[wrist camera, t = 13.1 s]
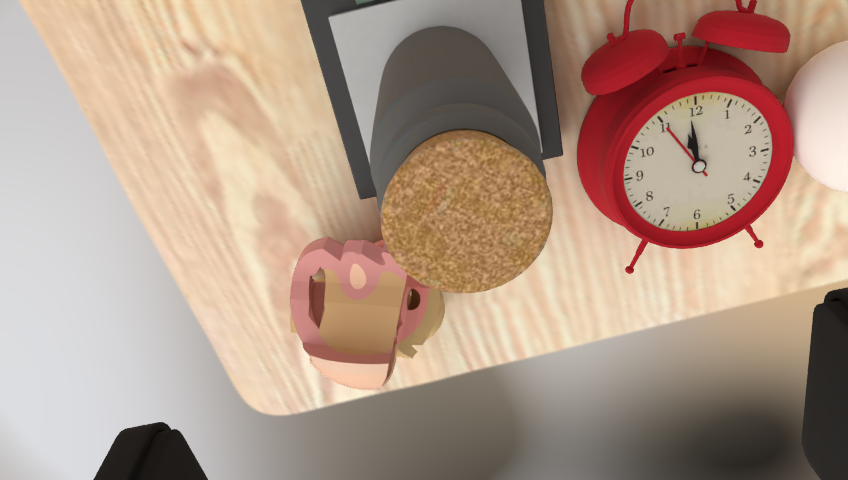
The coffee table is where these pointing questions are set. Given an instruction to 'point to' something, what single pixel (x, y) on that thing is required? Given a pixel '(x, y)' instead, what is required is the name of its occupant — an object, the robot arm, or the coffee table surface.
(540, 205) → the bottle
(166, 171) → the coffee table surface
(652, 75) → the alarm clock
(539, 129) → the scale
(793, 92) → the egg
